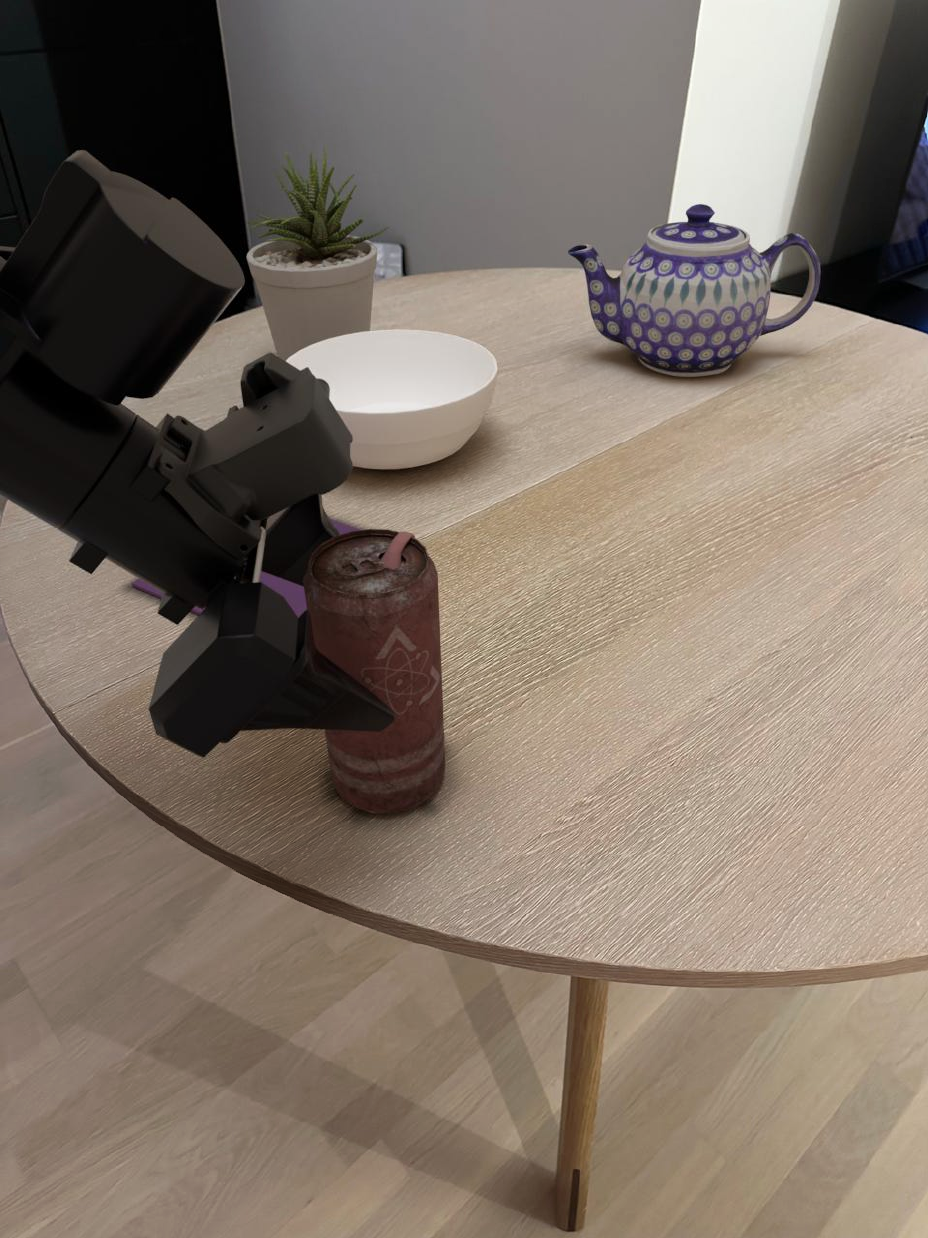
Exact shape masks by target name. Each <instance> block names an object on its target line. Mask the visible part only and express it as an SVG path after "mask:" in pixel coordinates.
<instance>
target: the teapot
mask: <svg viewBox="0 0 928 1238" xmlns="http://www.w3.org/2000/svg"><path fill="white" fill-rule="evenodd" d="M715 213H716V211H714V209H713V208H712V206H709V205H708V204H703V203H699V204H694V205H691V206H690V207H689V208H687V210H686V211H685V216H686V218H687V221H677V222H669V223H664V224H660V225H657V226H654V227H652V228H651V229H650V230H649V231H648V232H647V237H646V240H645V242H644V243H643V244H642V246H641V247H639V248H638V249H636V250H635V251H634V252H633V253H632V254H631V255H630V256H629V257H628V259H626V262H625V263H624V264H623V267H622V269H621V271H620V274H619V275H618V276H617V277H613V276H610V275H609V273H608V272H607V270H606V267H605V265H604V263H603V260H602V258H601V256H600V254H599V252H598V251H597V250H596V249H595V247H594V246H592V245H591V244H578V245H575V246H573V247H571V248H570V249H568V250H567V254H568V255H569V256H570V257H572V258H574V259H576V261H578V262H579V264H580V265H581V266H582V268H583V271H584V275H585V281H586V287H587V288H586V289H587V297H588V305H589V311H590V316H591V318H592V322H593V323H594V326H595V328H596V330H597V331H598V332H599V333H600V334H601V335H602V336H603V337H604V338H606V339H607V340H609V341H611V342H614V343H618V344H621V345H623V346H625V347H627V348H628V349H629V350H630V351H631V352H632V353H633V354H634V355H635V356H637V359H638V361H639V363H641V364H642V365H643V366H644V367H645V368H648V369H649V370H652V371H654V372H656V373H660V374H664V375H668V376H673V377H682V378H683V377H685V378H686V377H688V378H689V377H692V378H693V377H694V378H695V377H707V376H713V375H719V374H721V373H724V372H726V371H727V370H728V369H729V368H730V367H731V366H732V364H733V362H735V361H736V360H737V359H738V358H739V357H741V356H742V355H743V354H744V353H745V352H746V351H747V350H748V349H750V348H751V347H752V346H753V345H754V344H755V343H756V342H757V340H758V339H759V338H760V337H761V336H765V335H768V334H771V333H775V332H777V331H780V330H783V329H785V328H788V327H790V326H791V325H793V324H794V323H796V322H797V321H799V320H800V319H802V318H803V316H804V315H806V313H807V312H808V311H809V310H810V308H811V307H812V305H813V303H814V302H815V300H816V298H817V295H818V292H819V289H820V283H821V263H820V259H819V257H818V254H817V252H816V251H815V250H814V248H813V246H812V245H811V244H810V242H809V241H808V240H807V239H806V238H805V237H804V236H803V235H801V234H799V233H793V232H791V233H788V234H785V235H784V236H782V237H780V238H779V239H777V240H776V241H774V242H773V243H772V244H771V245H770V246H769V247H768V248H767V249H765V250H763V251H761V252H759V251H758V250H756V248H755V247H753V246H752V244H751V243H750V242H751V236H750V234H749V233H748V232H747V231H746V230H744V229H743V228H740V227H737V226H735V225H729V224H726V223H719V222H713V221H711V219H712V218H713V216H714V215H715ZM790 247H796V248H798V249H799V251H801V252H802V253H803V255H804V258H805V259H806V262H807V265H808V272H809V273H808V274H809V275H808V282H807V286H806V290H805V292H804V294H803V295H802V297H801V299H800V301H799V302H797V304H796V305H795V306H794V307H793V308H792V309H791V310H790V311H788V312H786V313H785V314H783V315H781V316H778V317H775V318H768V317H767V316H768V311H769V306H770V301H771V291H772V290H771V283H772V282H771V281H772V280H771V279H772V273H773V270H774V268H775V265H776V263H777V261H778V260H779V257H780V256H781V254H782V253H783V252H784V251H785V250H786V249H788V248H790Z"/></svg>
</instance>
